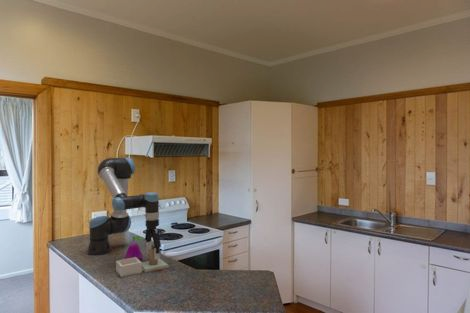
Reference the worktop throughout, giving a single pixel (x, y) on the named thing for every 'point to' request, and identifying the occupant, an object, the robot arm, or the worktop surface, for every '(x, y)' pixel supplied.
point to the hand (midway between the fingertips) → (153, 255)
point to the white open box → (128, 267)
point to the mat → (154, 270)
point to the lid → (153, 262)
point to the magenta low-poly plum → (134, 250)
